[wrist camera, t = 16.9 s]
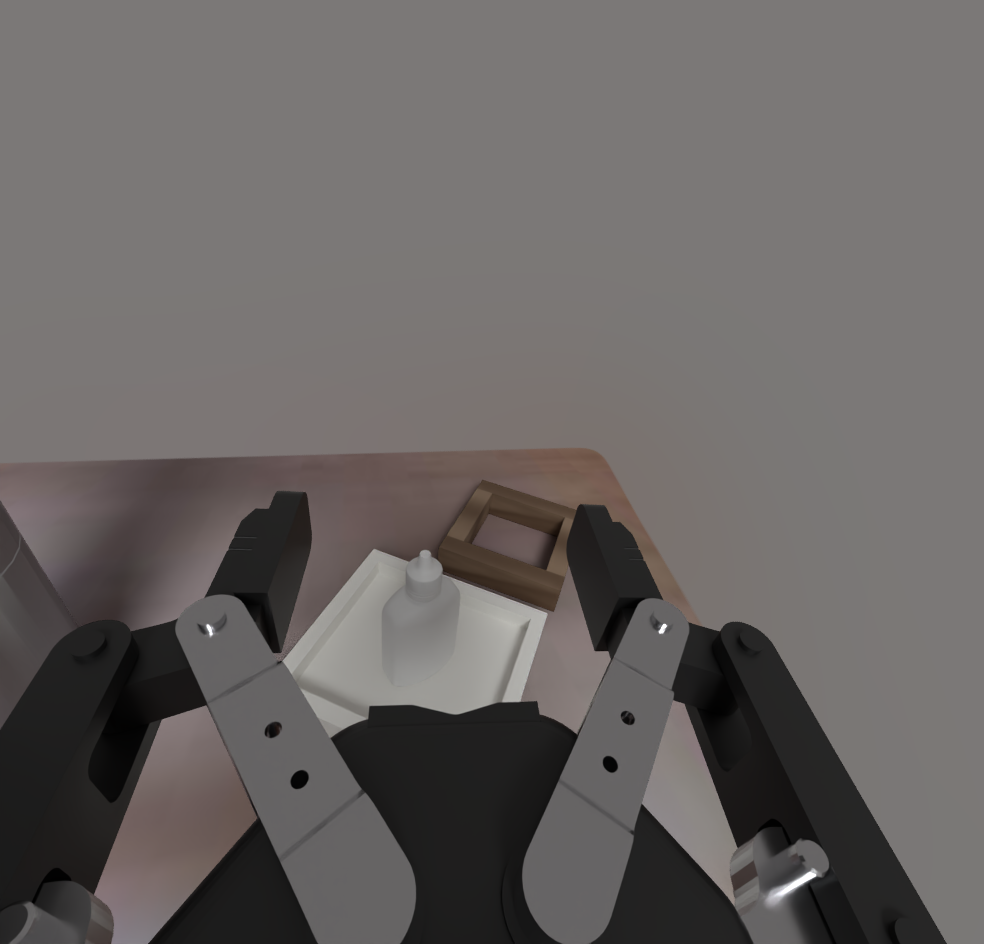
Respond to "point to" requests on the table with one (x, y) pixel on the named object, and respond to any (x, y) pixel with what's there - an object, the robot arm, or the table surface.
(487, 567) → the walnut holder
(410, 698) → the tray
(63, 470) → the table surface
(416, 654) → the eye dropper bottle
